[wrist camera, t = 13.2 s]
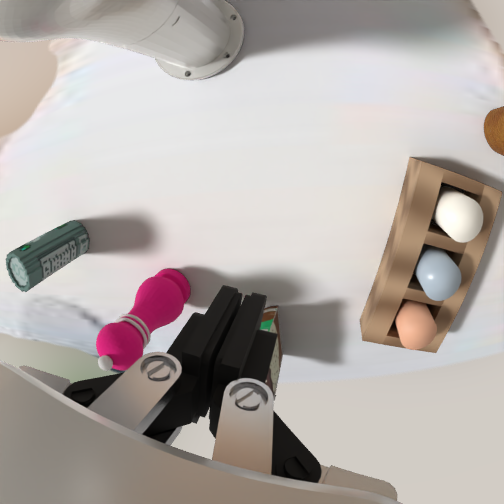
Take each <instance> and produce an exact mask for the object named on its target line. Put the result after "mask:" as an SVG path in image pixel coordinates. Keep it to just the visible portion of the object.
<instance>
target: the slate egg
mask: <svg viewBox="0 0 504 504" xmlns="http://www.w3.org/2000/svg"><path fill="white" fill-rule="evenodd" d="M414 273H415V275H416V276H417V278H418V280H419V282H420V284H421V286H422V288H423V289H424V291H425V293H426V295H427V296H428V297H429V298H430V299H432V300H435V301H442V300H446V299H448V298H450V297H451V296H452V295H454V294H455V292H456V291H457V290H458V288H459V286H460V283H461V272H460V269H459V268H458V266H457V265H456V264H455V263H454V262H453V260H452V259H451V258H450V257H449V256H448V255H447V253H446V252H445V251H444V250H443V249H442V248H439V247H435V246H432V245H428V244H425V243H423V246H422V249H421V252H420V255H419V258H418V261H417V263H416V266H415V269H414Z"/></svg>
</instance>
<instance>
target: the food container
mask: <svg viewBox="0 0 504 504" xmlns="http://www.w3.org/2000/svg"><path fill="white" fill-rule="evenodd" d="M260 330H264V331H268V332H273V333H277V334H278V336H277V340H276V344H275V348H274V352H273V355H272V359H271V363H270V367H269V371H268V375H267V379H266V382H265V385H267V386H268V387H269V388H270V390H271V391H272V393H273V398H274V400H275V397H276V395H275V393H276V388H277V383H278V377H279V372H280V367H281V361H282V356H283V350H282V339H281V329H280V319H279V309H278V306H270V307H267V308H264V313H263V318H262V322H261V327H260Z"/></svg>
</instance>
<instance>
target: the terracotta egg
mask: <svg viewBox="0 0 504 504" xmlns="http://www.w3.org/2000/svg"><path fill="white" fill-rule="evenodd" d="M394 319H395V323H396V326H397V330H398V333H399V337H400V340H401V343H402V345H403V346H404V347H405V348H407V349H411V350H417V349H421V348H424V347H426V346H427V345H429V344H430V343H431V342H432V341H433V339H434V338H435V336H436V333H437V326H436V324H435V322H434V319H433V317H432V315H431V313H430V311H429V309H428V307H427V305H426V303H423V302H418V301H414V300H409V299H404V298H403V299H402V302H401V304H400V306H399V309H398V311H397V313H396V316H395V318H394Z"/></svg>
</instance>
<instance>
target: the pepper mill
mask: <svg viewBox="0 0 504 504" xmlns="http://www.w3.org/2000/svg"><path fill="white" fill-rule="evenodd" d="M189 296H190V285H189V283H188V281H187V279H186V278H185V277H184V276H183V275H182V274H181V273H180V272H178V271H176V270H173V269H163V270H161V271H160V272H159V273H157V274H156V275H155V276H154V277H151V278H148V279H147V280H145V281H144V282H143V283H142V285H141V286H140V287H139V289H138V292H137V294H136V298H135V303H134V307H133V308H132V310H131V311H130V312H129V313H128V314H123V315H121V316H120V317H119V318H118V319H117V320H116V321H115V322H114V323H110V324H108V325H106V326H105V327H103V328H102V329H101V331H100V332H99V334H98V337H97V341H96V347H97V351H98V354H99V355H100V358H99V360H98V364H99V367H100V368H101V369H102V370H110V369H111V368H114V369H117V370H128V369H129V368H130V367H131V366H132V365H133V364H134V363H135V362H136V361H137V360H138V359H139V358H141V357H142V355H143V349H144V348H145V347H146V345H147V344H148V343H149V342H150V334H151V333H152V332H153V331H154V330H155V329H157V328H159V327H162V326H165V325H167V324H169V323H171V322H173V321H174V320H176V319H177V317H178V316H179V315H180V314H181V313H182V310H183V307H184V303H185V302H186V301H187V300H188V298H189Z"/></svg>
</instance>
